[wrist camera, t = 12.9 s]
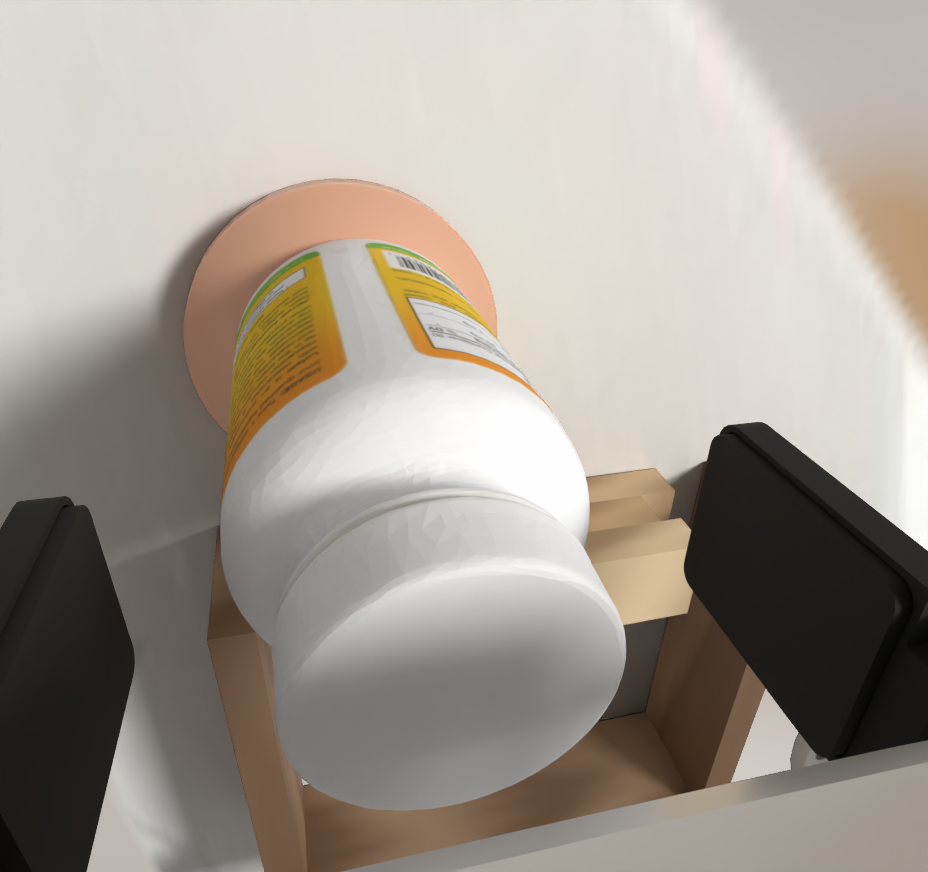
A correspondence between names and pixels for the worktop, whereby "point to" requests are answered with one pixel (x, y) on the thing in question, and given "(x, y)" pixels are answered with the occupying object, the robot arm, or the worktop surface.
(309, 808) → the frame
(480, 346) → the supplement bottle
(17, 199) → the worktop surface
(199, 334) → the terracotta coaster
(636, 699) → the worktop surface
